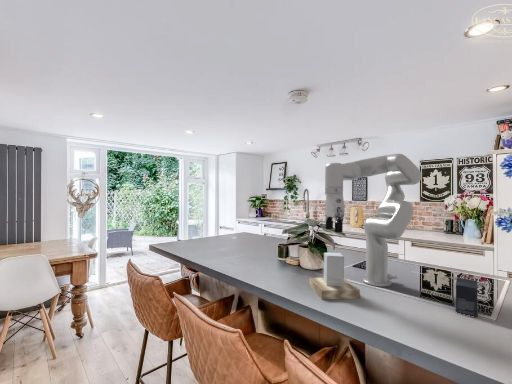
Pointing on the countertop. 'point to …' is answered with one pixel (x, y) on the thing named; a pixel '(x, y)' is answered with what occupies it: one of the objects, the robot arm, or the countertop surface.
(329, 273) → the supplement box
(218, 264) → the countertop surface
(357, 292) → the block
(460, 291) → the small box
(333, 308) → the countertop surface
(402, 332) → the countertop surface
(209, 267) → the countertop surface
